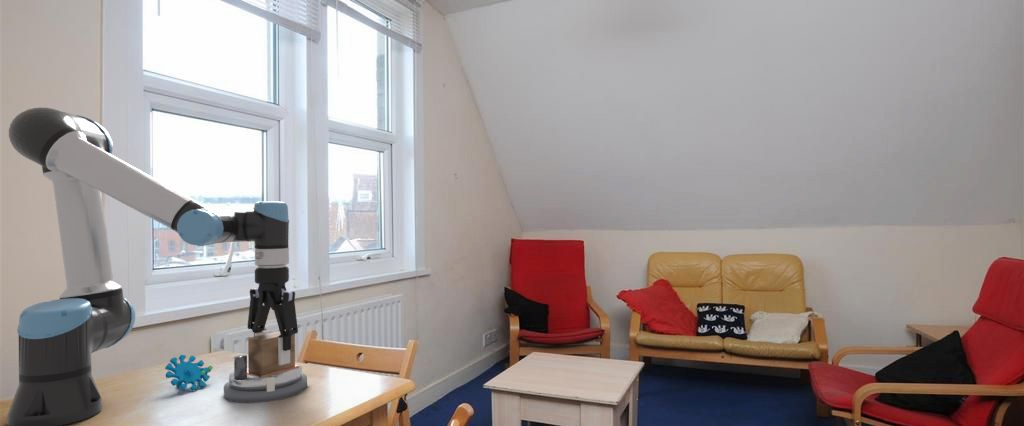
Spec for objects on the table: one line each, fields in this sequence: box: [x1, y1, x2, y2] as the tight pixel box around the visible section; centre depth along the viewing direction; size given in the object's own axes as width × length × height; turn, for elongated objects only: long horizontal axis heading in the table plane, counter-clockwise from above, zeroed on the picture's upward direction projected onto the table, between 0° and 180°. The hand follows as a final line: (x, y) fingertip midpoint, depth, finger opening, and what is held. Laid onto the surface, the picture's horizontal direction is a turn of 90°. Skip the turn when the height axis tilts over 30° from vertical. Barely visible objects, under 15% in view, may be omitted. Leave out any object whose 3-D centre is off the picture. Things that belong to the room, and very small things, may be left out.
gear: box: [164, 354, 214, 392], centre depth 136 cm, size 11×6×10 cm
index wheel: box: [228, 354, 303, 391], centre depth 133 cm, size 16×16×7 cm
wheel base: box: [223, 372, 308, 404], centre depth 133 cm, size 18×18×5 cm
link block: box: [247, 330, 296, 375], centre depth 134 cm, size 5×9×8 cm, turn 150°
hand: (272, 361), depth 135 cm, fingers open, 8 cm apart
